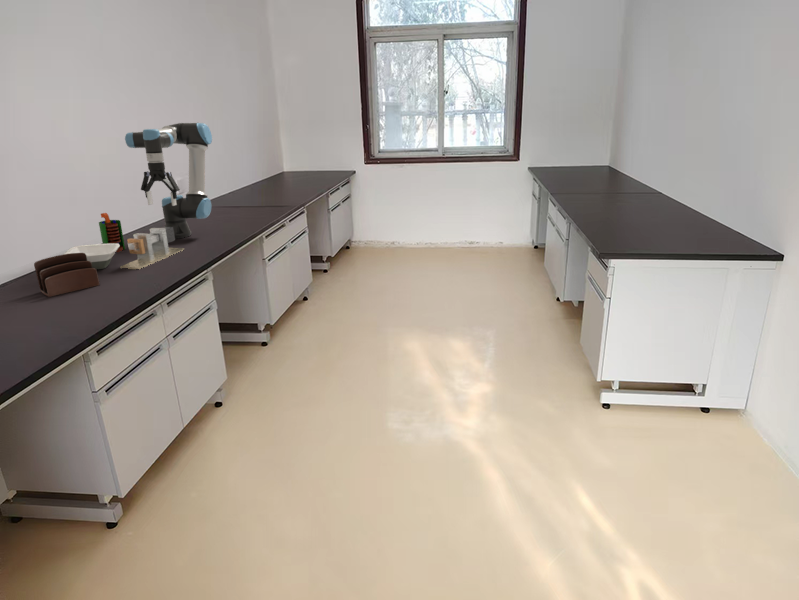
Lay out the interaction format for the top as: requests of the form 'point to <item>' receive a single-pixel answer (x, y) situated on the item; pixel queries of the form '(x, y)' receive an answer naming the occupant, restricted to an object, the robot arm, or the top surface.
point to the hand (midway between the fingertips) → (162, 204)
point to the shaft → (155, 238)
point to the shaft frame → (154, 254)
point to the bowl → (96, 253)
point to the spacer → (141, 246)
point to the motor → (111, 232)
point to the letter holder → (65, 274)
